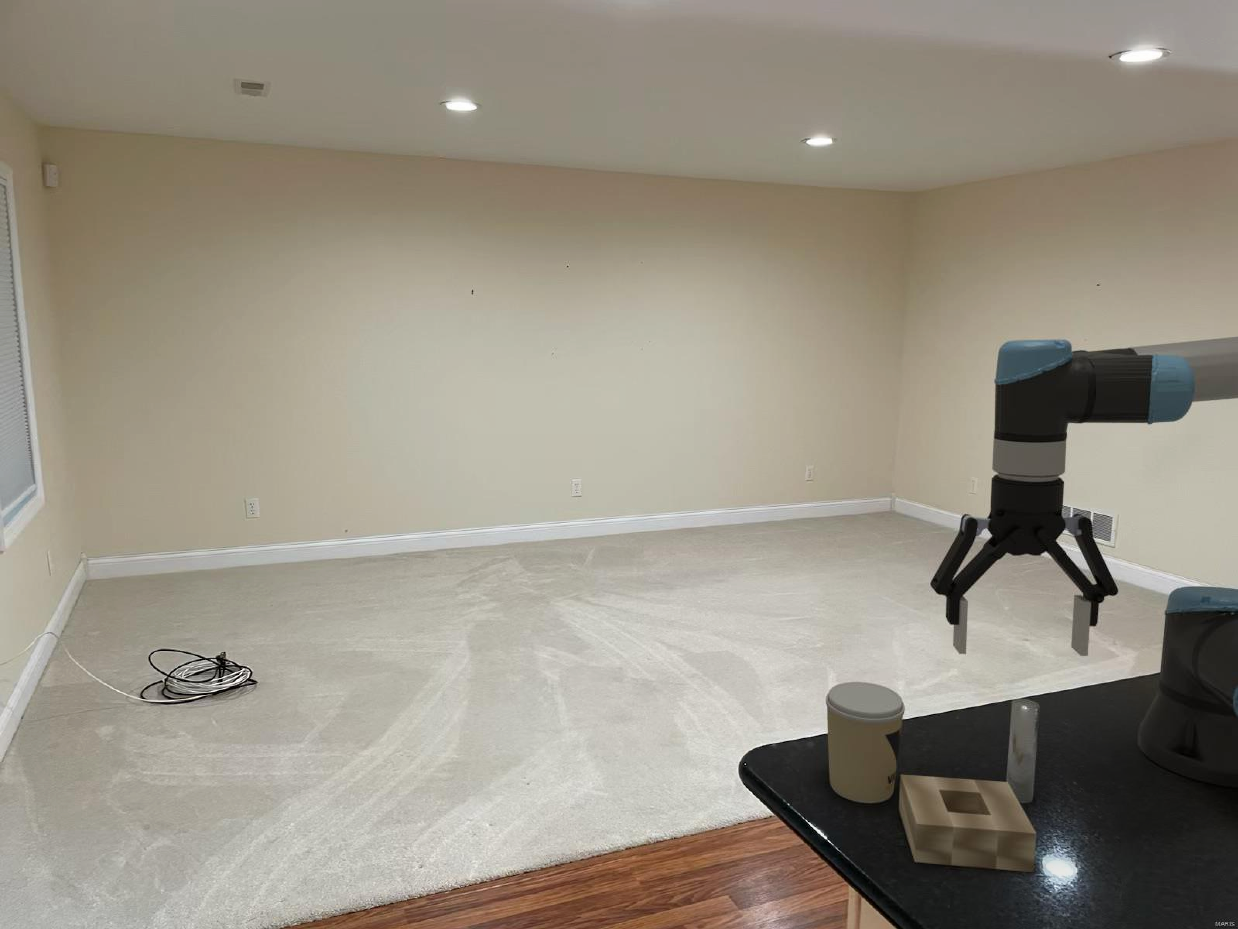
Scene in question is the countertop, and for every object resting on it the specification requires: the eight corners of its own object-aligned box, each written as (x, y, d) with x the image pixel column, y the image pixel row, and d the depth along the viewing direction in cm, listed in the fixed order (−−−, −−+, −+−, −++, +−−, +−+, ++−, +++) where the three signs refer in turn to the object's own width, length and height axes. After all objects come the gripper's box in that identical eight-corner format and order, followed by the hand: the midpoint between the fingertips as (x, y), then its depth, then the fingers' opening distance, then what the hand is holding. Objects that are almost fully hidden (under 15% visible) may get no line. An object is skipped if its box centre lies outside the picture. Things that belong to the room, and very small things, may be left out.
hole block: (1005, 817, 97) (1007, 782, 96) (1033, 872, 87) (1036, 833, 87) (898, 809, 99) (900, 774, 98) (914, 862, 89) (916, 823, 89)
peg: (1028, 790, 103) (1035, 699, 101) (1036, 804, 100) (1043, 710, 98) (1002, 788, 103) (1008, 698, 101) (1009, 802, 100) (1016, 709, 98)
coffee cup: (905, 811, 99) (910, 717, 97) (824, 803, 101) (827, 710, 99) (895, 770, 108) (899, 683, 106) (821, 763, 110) (824, 678, 108)
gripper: (1127, 468, 97) (1115, 640, 101) (908, 470, 100) (903, 637, 104) (1160, 480, 90) (1146, 665, 94) (923, 482, 93) (917, 661, 96)
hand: (1018, 651), depth 99 cm, fingers open, 13 cm apart
